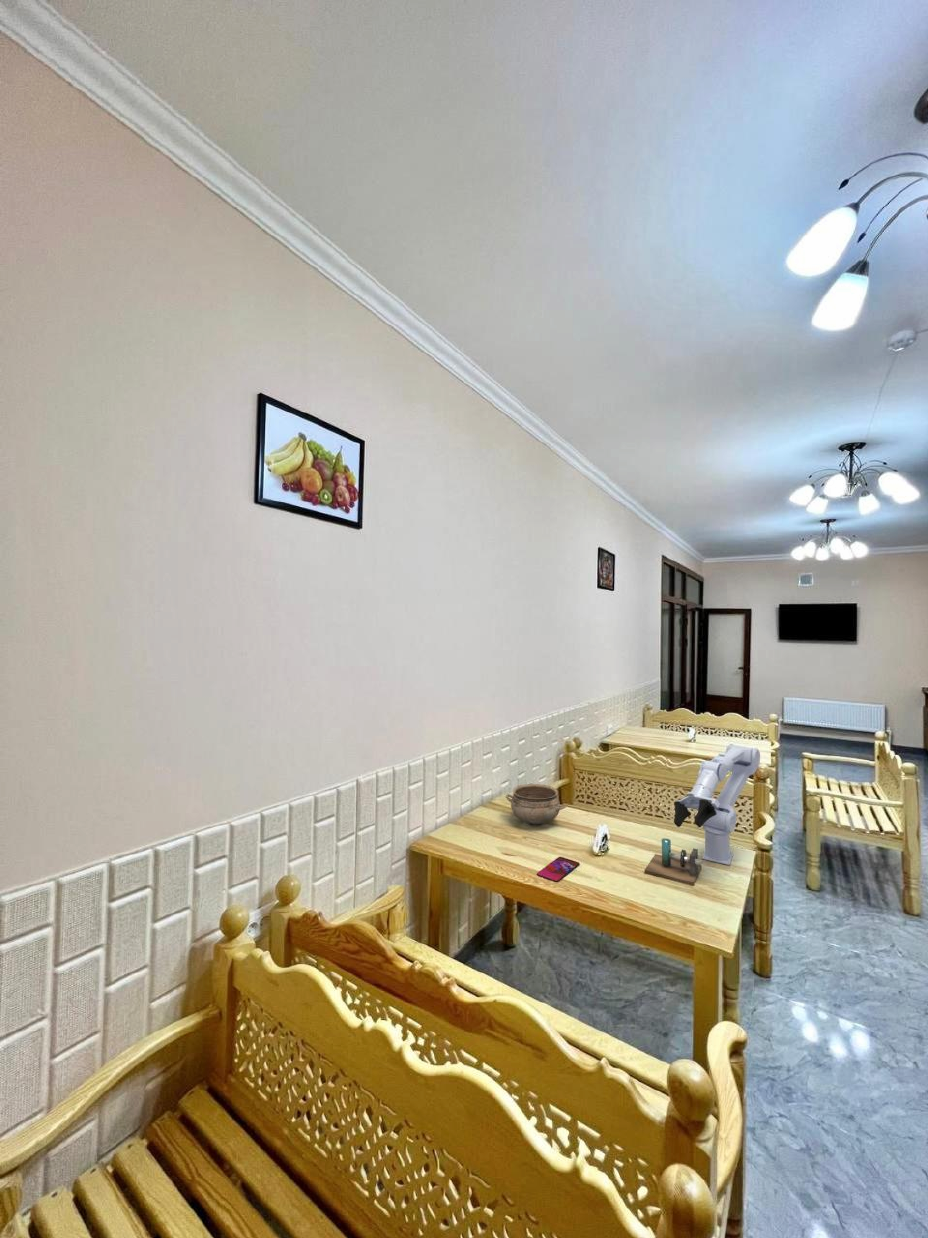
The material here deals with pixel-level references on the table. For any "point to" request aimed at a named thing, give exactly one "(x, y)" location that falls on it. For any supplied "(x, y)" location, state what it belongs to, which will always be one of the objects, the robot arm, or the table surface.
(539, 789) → the cooking pot
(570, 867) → the smartphone
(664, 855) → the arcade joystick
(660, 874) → the eye stand
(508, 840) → the table surface
